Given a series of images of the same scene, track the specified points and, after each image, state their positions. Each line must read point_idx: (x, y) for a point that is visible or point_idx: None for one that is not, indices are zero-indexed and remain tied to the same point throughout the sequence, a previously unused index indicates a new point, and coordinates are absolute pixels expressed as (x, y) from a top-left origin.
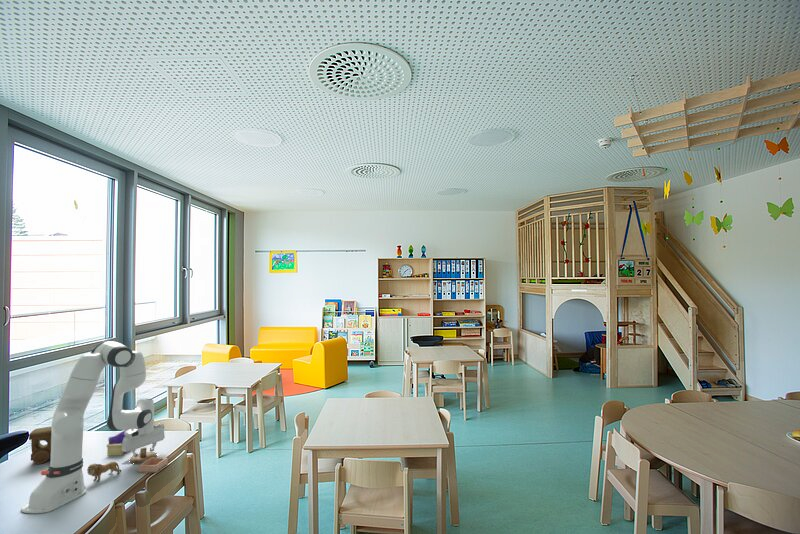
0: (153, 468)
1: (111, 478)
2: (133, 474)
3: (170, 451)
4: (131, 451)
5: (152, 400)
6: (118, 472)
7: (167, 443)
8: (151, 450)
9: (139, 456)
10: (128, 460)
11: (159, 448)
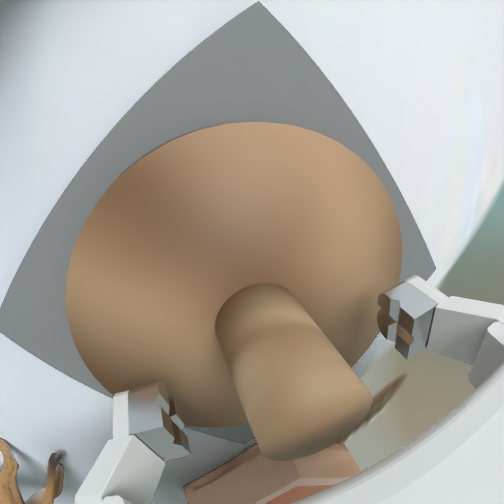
0: None
1: (39, 475)
2: (157, 490)
3: (468, 240)
4: (92, 499)
5: None
6: (59, 479)
7: (491, 26)
8: (390, 338)
9: (209, 287)
10: (51, 259)
11: (451, 70)
